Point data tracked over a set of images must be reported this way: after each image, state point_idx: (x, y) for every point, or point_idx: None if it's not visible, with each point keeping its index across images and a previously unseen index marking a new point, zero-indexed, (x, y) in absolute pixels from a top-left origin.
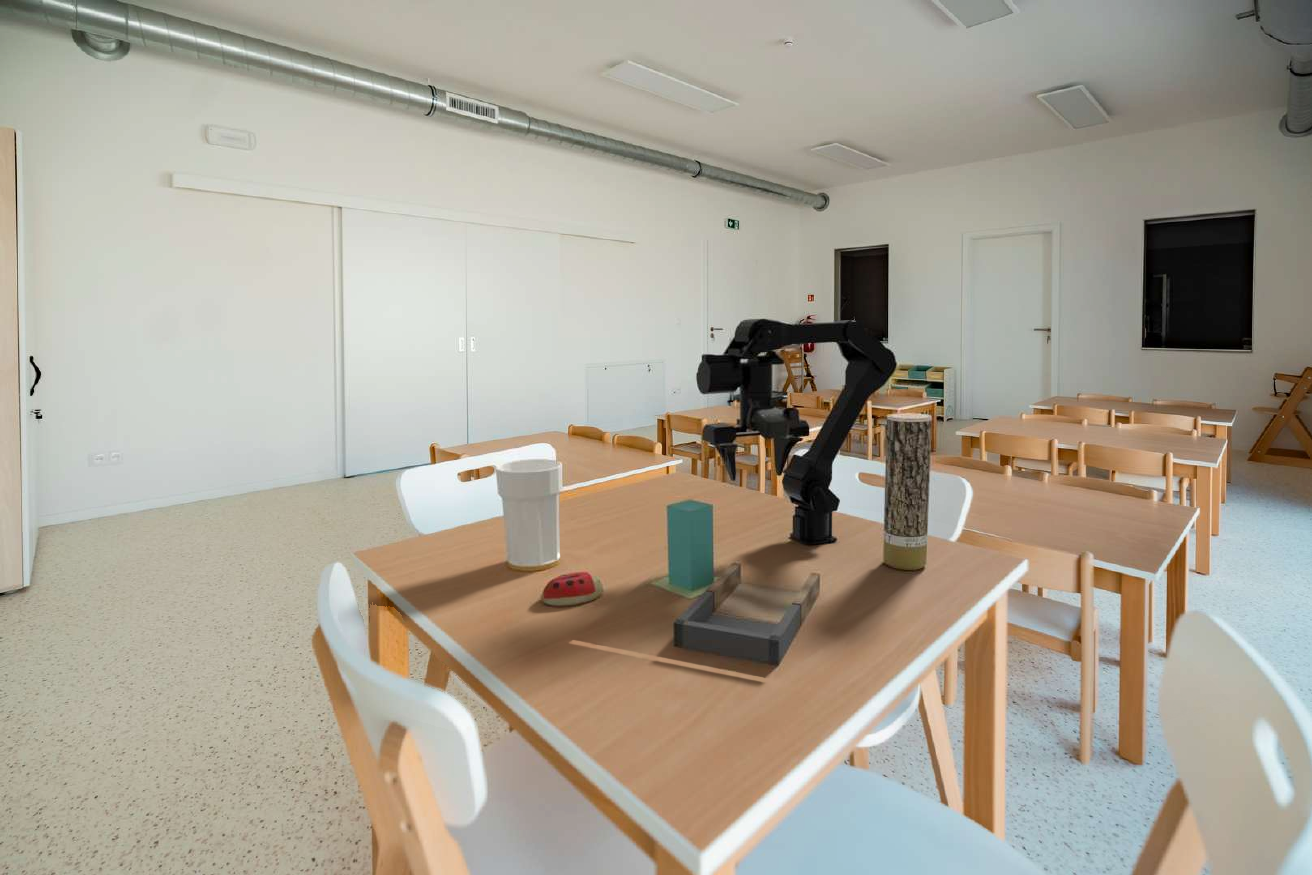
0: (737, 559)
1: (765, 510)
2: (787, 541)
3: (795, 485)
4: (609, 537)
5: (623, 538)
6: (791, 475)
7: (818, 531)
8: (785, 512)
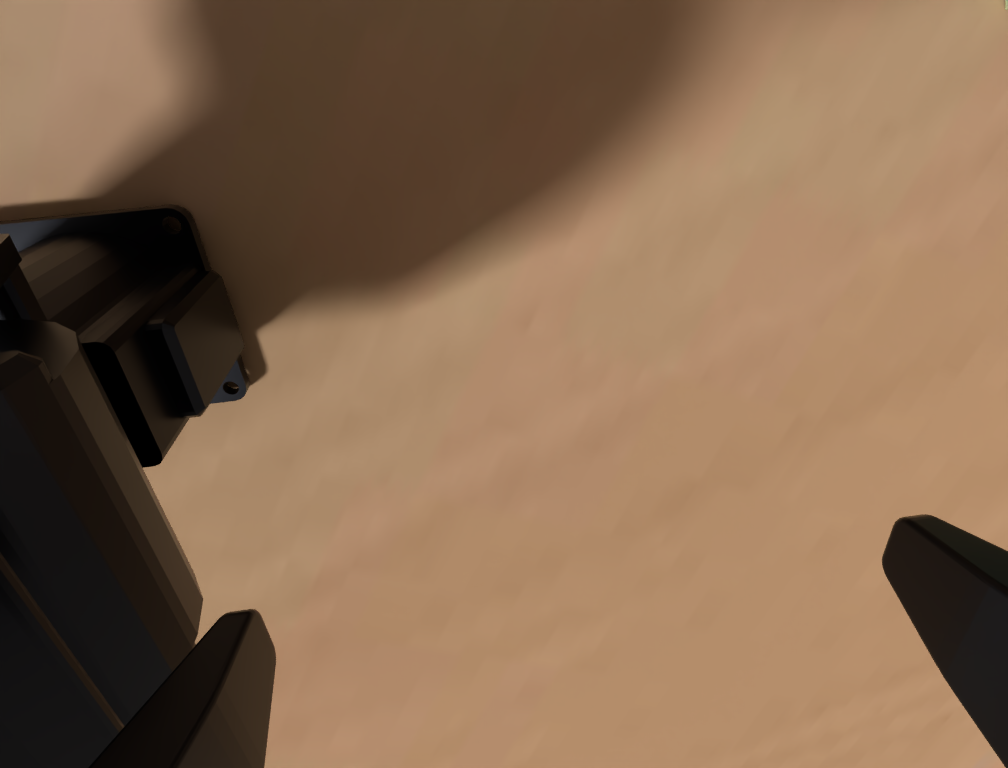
0: (679, 117)
1: None
2: (288, 320)
3: (76, 486)
4: None
5: None
6: (61, 641)
7: (65, 251)
8: None
